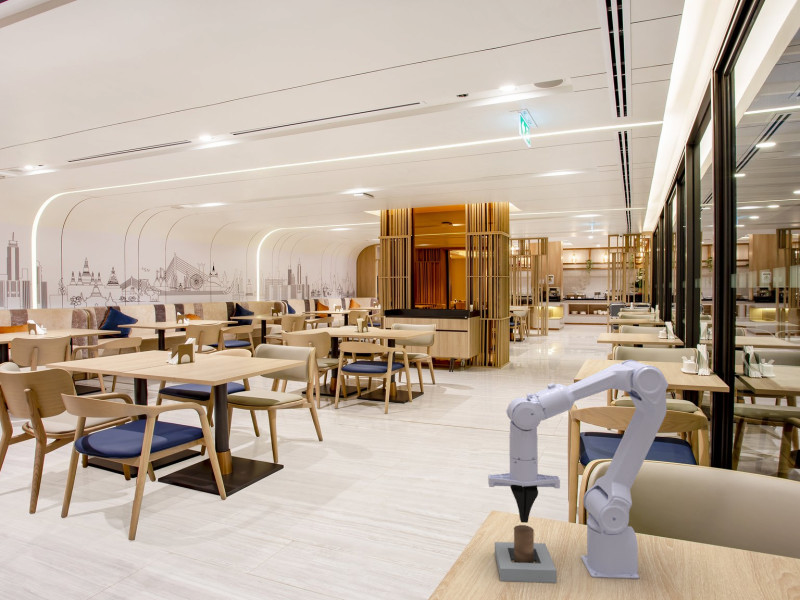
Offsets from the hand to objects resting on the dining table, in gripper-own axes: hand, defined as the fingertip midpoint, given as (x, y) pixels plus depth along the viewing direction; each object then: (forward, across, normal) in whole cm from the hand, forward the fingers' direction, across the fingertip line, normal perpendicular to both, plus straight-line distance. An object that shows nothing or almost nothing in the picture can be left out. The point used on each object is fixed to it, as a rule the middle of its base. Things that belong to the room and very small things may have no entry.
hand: (523, 520), depth 108 cm
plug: (+10, 0, 0) cm, 10 cm away
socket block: (+10, 0, 0) cm, 10 cm away
